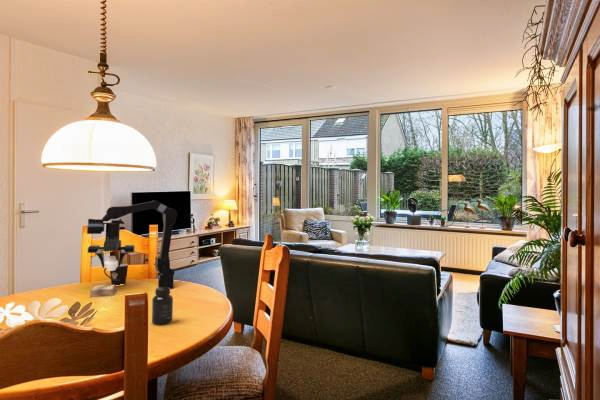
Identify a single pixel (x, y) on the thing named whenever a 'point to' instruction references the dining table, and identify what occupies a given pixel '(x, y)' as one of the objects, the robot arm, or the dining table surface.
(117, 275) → the coffee mug
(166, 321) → the supplement bottle
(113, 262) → the muffin
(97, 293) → the brown flat block
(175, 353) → the dining table surface
